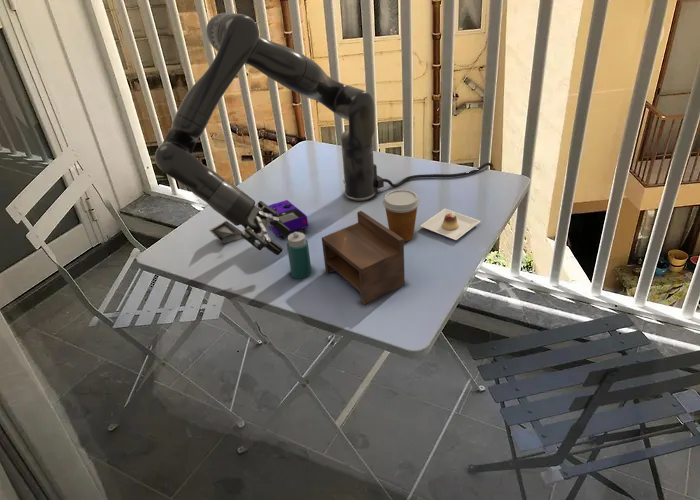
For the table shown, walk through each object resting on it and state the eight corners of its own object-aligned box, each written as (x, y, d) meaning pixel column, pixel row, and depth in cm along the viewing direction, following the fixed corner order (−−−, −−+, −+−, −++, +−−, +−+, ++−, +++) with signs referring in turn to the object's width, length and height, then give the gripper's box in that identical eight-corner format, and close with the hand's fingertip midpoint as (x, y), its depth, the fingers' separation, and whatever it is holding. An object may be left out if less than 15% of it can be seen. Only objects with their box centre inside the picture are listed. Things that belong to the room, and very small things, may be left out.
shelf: (364, 254, 147) (361, 210, 140) (404, 284, 135) (403, 238, 128) (325, 271, 142) (320, 227, 135) (364, 304, 130) (360, 258, 123)
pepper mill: (305, 264, 145) (299, 224, 139) (315, 273, 142) (310, 232, 135) (287, 271, 143) (281, 231, 136) (297, 281, 139) (291, 240, 133)
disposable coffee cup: (396, 249, 148) (395, 210, 141) (378, 233, 155) (376, 195, 148) (426, 238, 151) (426, 199, 145) (407, 223, 158) (406, 185, 152)
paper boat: (237, 222, 163) (256, 224, 157) (234, 244, 163) (253, 247, 156) (201, 217, 154) (219, 218, 148) (198, 240, 154) (216, 242, 148)
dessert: (419, 229, 155) (419, 214, 153) (444, 211, 162) (445, 197, 160) (456, 243, 148) (456, 228, 146) (480, 224, 155) (481, 209, 152)
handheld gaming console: (287, 198, 168) (306, 214, 156) (290, 214, 171) (309, 230, 159) (258, 207, 165) (275, 224, 153) (261, 223, 167) (279, 241, 155)
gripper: (230, 207, 125) (288, 249, 130) (247, 178, 137) (299, 218, 142) (213, 227, 129) (269, 268, 134) (230, 197, 140) (281, 236, 145)
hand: (284, 242), depth 138 cm, fingers open, 8 cm apart
